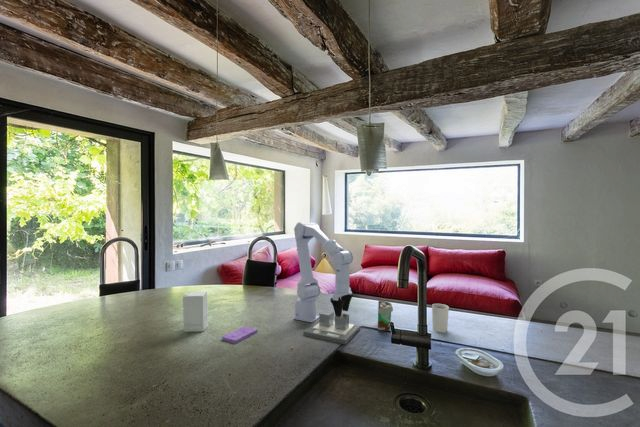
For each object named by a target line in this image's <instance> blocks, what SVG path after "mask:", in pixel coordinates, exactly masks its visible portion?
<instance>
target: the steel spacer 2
mask: <svg viewBox="0 0 640 427" xmlns="http://www.w3.org/2000/svg"><path fill="white" fill-rule="evenodd" d="M334 321H335V329H339V330H344V331H345V330H346V329H347V328H348V327H349V324H350V314H348V313H342V314H341V317H337V316H335V315H334Z"/></svg>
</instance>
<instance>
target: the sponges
mask: <svg viewBox="0 0 640 427" xmlns="http://www.w3.org/2000/svg"><path fill="white" fill-rule="evenodd" d="M258 331H259V330H258V328H253V327H248V326H242V327H240V328H238V329H236V330H233V331H232V332H229V333H227V334H224V335H222V336H221V340H223V341H225V342H229V343H232V344H237V343H240V342H242V341H243V340H245V339H247V338H249V337H251V336H254V335H255V334H257V333H258Z"/></svg>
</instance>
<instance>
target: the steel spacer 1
mask: <svg viewBox="0 0 640 427" xmlns="http://www.w3.org/2000/svg"><path fill="white" fill-rule="evenodd" d="M318 316H319V318H318V321H319V326H324V327H330V326H331V325H333V324H334V321H335V312H334V311H330V310H322V311H321V312H320V313H319V314H318Z"/></svg>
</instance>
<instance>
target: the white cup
mask: <svg viewBox="0 0 640 427" xmlns="http://www.w3.org/2000/svg"><path fill="white" fill-rule="evenodd" d="M449 307H450V306H448V305H446V304H444V303H443V304H442V303H433V304H431V314H432V315H431V316H432V330H433V331H434V332H436V333H437V332H438V333H447V332H448V325H449V312H450V308H449Z"/></svg>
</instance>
